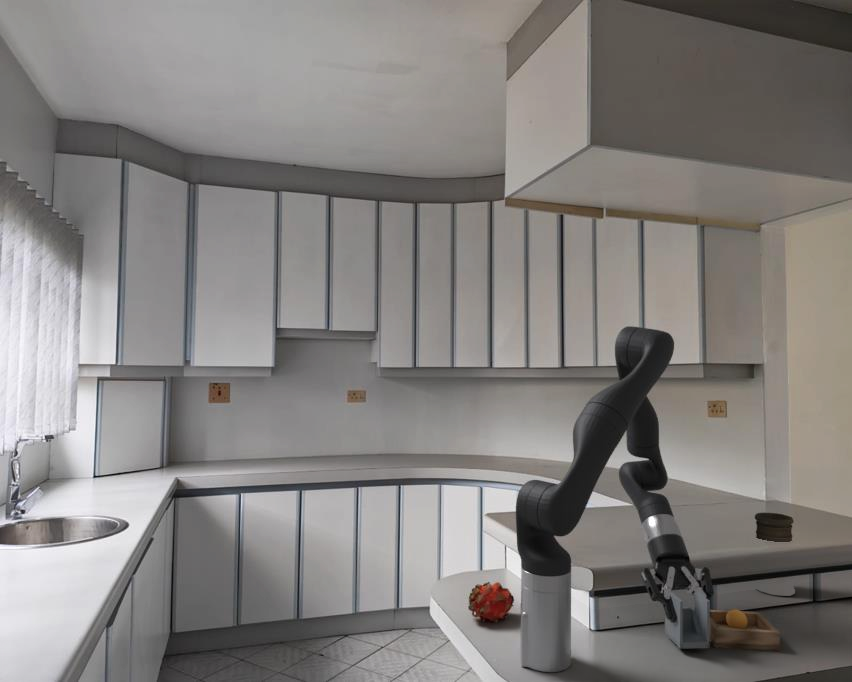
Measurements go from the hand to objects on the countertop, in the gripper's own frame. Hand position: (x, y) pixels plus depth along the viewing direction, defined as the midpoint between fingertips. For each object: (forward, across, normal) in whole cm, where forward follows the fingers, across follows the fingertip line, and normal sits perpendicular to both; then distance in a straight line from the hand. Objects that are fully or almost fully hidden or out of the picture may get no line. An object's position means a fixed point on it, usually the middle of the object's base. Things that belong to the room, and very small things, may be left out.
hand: (690, 620), depth 126 cm
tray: (+1, +12, +7) cm, 14 cm away
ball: (-2, +13, +6) cm, 14 cm away
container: (-17, +35, +26) cm, 47 cm away
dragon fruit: (-8, -36, +16) cm, 40 cm away
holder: (+2, 0, +4) cm, 5 cm away
